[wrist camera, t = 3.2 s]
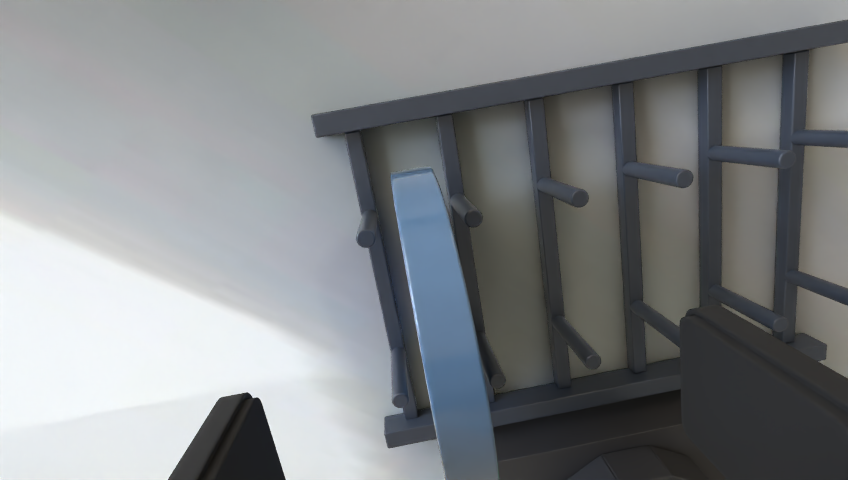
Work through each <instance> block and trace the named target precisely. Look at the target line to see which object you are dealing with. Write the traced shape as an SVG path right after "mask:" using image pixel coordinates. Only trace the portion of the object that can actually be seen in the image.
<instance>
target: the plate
mask: <svg viewBox="0 0 848 480" xmlns="http://www.w3.org/2000/svg"><path fill="white" fill-rule="evenodd" d="M390 179H391V187H392V193H393V200H394V206H395V212H396V218H397V223H398V229H399V235H400V241H401V247H402V252H403V258H404V264H405V269H406V275H407V280H408V286H409V292H410V297H411V303H412V308H413V314H414V319H415V325H416V330H417V335H418V341H419V346H420V352H421V357H422V362H423V368H424V373H425V378H426V384H427V389H428V394H429V399H430V405H431V410H432V415H433V420H434V425H435V431H436V436H437V441H438V446H439V451H440V456H441V461H442V466H443V471H444V476H445V480H500V477H499V466H498V458H497V449H496V442H495V435H494V428H493V422H492V416H491V410H490V404H489V398H488V392H487V387H486V381H485V376H484V370H483V365H482V360H481V354H480V349H479V344H478V339H477V334H476V329H475V325H474V320H473V315H472V310H471V306H470V301H469V297H468V292H467V288H466V283H465V279H464V274H463V270H462V266H461V262H460V258H459V253H458V249H457V245H456V242H455V238H454V234H453V230H452V226H451V222H450V219H449V215H448V212H447V208H446V205H445V202H444V198H443V195H442V192H441V189H440V186H439V183H438V181H437V178H436V176H435V174H434V172H433V170H432V169H431V167H429V166H423V167H418V168H412V169H407V170H401V171H396V172H392V173H391V174H390Z"/></svg>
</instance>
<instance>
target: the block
mask: <svg viewBox="0 0 848 480" xmlns="http://www.w3.org/2000/svg"><path fill="white" fill-rule="evenodd" d="M493 428H494V435H495V442H496V449H497V458H498V466H499V477H500V480H727V479H726V478H725V477H724V476H723V475H722V474H721V473H720V471H719V470H718V469H717V468H716V467H715V466H714V465H713V464H712V463H711V462H710V461H709V460H708V458H707V457H706V456H705V455H704V454H703V453H702V452H701V451H700V450H699V449H698V448H697V447H696V445H695V444H694V443H693V442H692V441H691V440H690V439H689V438H688V436H687V434H686V433H685V431H684V428H683V425H682V417H681V389H679V390H674V391H669V392H664V393H659V394H654V395H649V396H644V397H639V398H634V399H629V400H625V401H620V402H615V403H610V404H605V405H600V406H595V407H590V408H585V409H580V410H575V411H570V412H565V413H561V414H556V415H551V416H546V417H541V418H536V419H531V420H526V421H521V422H516V423H511V424H506V425H501V426H497V427H493Z"/></svg>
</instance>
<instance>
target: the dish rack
mask: <svg viewBox="0 0 848 480" xmlns="http://www.w3.org/2000/svg"><path fill="white" fill-rule="evenodd" d="M847 42H848V20H843V21H837V22H832V23H826V24H820V25H815V26H809V27H804V28H798V29H792V30H787V31H781V32H775V33H770V34H764V35H759V36H753V37H747V38H742V39H736V40H730V41H725V42H719V43H714V44H708V45H702V46H697V47H691V48H685V49H680V50H674V51H669V52H663V53H657V54H652V55H646V56H640V57H635V58H629V59H624V60H618V61H612V62H607V63H601V64H595V65H590V66H584V67H579V68H573V69H567V70H562V71H556V72H550V73H545V74H539V75H534V76H528V77H522V78H517V79H511V80H505V81H500V82H494V83H489V84H483V85H477V86H472V87H466V88H460V89H455V90H449V91H444V92H438V93H432V94H427V95H421V96H415V97H410V98H404V99H399V100H393V101H387V102H382V103H376V104H370V105H365V106H359V107H354V108H348V109H342V110H337V111H331V112H325V113H320V114H314V115H311V118H312V122H313V127H314V131H315V135H316V137H317V138H319V137H324V136H330V135H335V134H341V133H345V134H344V136H345V140H346V145H347V150H348V154H349V159H350V164H351V168H352V173H353V178H354V182H355V187H356V192H357V196H358V201H359V206H360V210H361V215H362V218H361V222H360V226H359V229H358V233H357V237H356V240H357V243H358V244H359V245H360V246H361V247H364V248H369V252H370V257H371V262H372V266H373V271H374V276H375V280H376V285H377V290H378V294H379V299H380V304H381V308H382V313H383V318H384V322H385V327H386V332H387V336H388V341H389V346H390V350H391V371H392V403H393V404H394V406H396V407H398V408H403V411H404V413H402V414H397V415H392V416H387V417H385V438H386V443H387V447H388V448H393V447H398V446H403V445H408V444H413V443H418V442H423V441H428V440H433V439H437V436H436V431H435V425H434V420H433V415H432V410H431V408H427V409H422V410H418V408H417V404H416V399H415V394H414V389H413V384H412V379H411V374H410V369H409V364H408V360H407V355H406V350H405V345H404V340H403V335H402V330H401V325H400V320H399V316H398V311H397V306H396V301H395V296H394V291H393V286H392V281H391V276H390V271H389V267H388V262H387V257H386V252H385V247H384V242H383V237H382V232H381V227H380V223H379V218H378V213H377V208H376V203H375V198H374V193H373V188H372V183H371V178H370V174H369V169H368V164H367V159H366V154H365V149H364V144H363V139H362V134H361V131H360V130H363V129H369V128H374V127H380V126H386V125H391V124H397V123H402V122H408V121H413V120H419V119H425V118H430V117H435V119H436V126H437V132H438V138H439V144H440V151H441V157H442V163H443V169H444V175H445V182H446V188H447V194H448V200H449V207H450V213H451V219H452V225H453V232H454V238H455V242H456V245H457V249H458V253H459V258H460V262H461V266H462V270H463V274H464V279H465V283H466V288H467V292H468V297H469V301H470V306H471V310H472V315H473V320H474V325H475V329H476V334H477V339H478V344H479V349H480V354H481V360H482V365H483V370H484V376H485V381H486V387H487V392H488V398H489V404H490V410H491V416H492V422H493V427H497V426H501V425H506V424H511V423H516V422H521V421H526V420H531V419H536V418H541V417H546V416H551V415H556V414H561V413H565V412H570V411H575V410H580V409H585V408H590V407H595V406H600V405H605V404H610V403H615V402H620V401H625V400H629V399H634V398H639V397H644V396H649V395H654V394H659V393H664V392H669V391H674V390H679V389H681V370H680V358H676V359H671V360H666V361H661V362H656V363H651V364H646V348H645V326H644V321H645V322H647V323H648V324H649V325H651V326H652V327H653V328H655V329H656V330H657V331H658V332H660V333H661V334H662V335H664V336H665V337H666V338H668V339H669V340H670V341H671V342H673V343H674V344H675V345H677V346H678V347H679V348H680V327H678V326H677V325H675V324H674V323H673V322H671V321H670V320H668V319H667V318H665V317H664V316H663V315H661V314H660V313H658V312H657V311H655V310H654V309H653V308H651V307H650V306H648V305H647V304H645V303H644V302H643V284H642V262H641V241H640V220H639V199H638V179H643V180H647V181H652V182H656V183H661V184H665V185H670V186H674V187H679V188H686V187H688V186H689V185H691V183H692V181H693V174H692V173H691V172H690V171H689V170H685V169H678V168H672V167H666V166H659V165H653V164H647V163H640V162H637V156H636V135H635V113H634V92H633V82H632V81H636V80H642V79H647V78H653V77H658V76H664V75H670V74H675V73H681V72H686V71H692V70H697V69H699V70H698V143H699V235H700V307H705V306H710V305H719V306H721V302H722V303H723V304H725V305H727V306H729V307H731V308H733V309H735V310H736V311H738V312H740V313H742V314H744V315H746V316H748V317H749V318H751V319H753V320H755V321H757V322H759V323H761V324H762V325H764V326H766V327H768V328H770V329H772V330H773V336H774V337H776V338H778V339H779V340H781V341H783V342H785V343H786V344H788V345H790V346H792V347H793V348H795V349H797V350H799V351H800V352H802V353H804V354H805V355H807V356H809V357H811V358H812V359H814V360H816V361H822V360H825V359H826V350H827V345H826V344H825V343H823V342H821V341H819V340H817V339H815V338H813V337H811V336H809V335H807V334H805V333H800V334H795V325H796V305H797V286H800V287H802V288H805V289H807V290H810V291H812V292H815V293H817V294H820V295H822V296H825V297H827V298H830V299H832V300H835V301H837V302H840V303H842V304H845V305H847V306H848V288H845V287H842V286H839V285H836V284H834V283H831V282H828V281H825V280H823V279H820V278H817V277H814V276H811V275H809V274H806V273H803V272H800V271H798V265H799V245H800V226H801V206H802V186H803V166H804V146H823V147H841V148H848V131H840V130H805V127H806V107H807V87H808V67H809V49H814V48H820V47H826V46H831V45H837V44H842V43H847ZM781 54H784V55H783V74H782V102H781V129H780V150H776V149H762V148H747V147H733V146H722V66H721V65H725V64H731V63H736V62H742V61H748V60H753V59H759V58H764V57H770V56H775V55H781ZM608 85H612V101H613V118H614V135H615V152H616V170H617V186H618V203H619V220H620V237H621V254H622V270H623V287H624V304H625V321H626V338H627V355H628V367H629V368H626V369H621V370H616V371H611V372H606V373H601V374H596V375H591V376H586V377H581V378H576V379H571V377H570V366H569V356H568V346H567V344H568V345H569V346H570V348H571V349H572V350H573V351H574V352H575V354H576V355H577V356H578V357H579V359H580V360H581V361H582V362H583V364H584V365H585V366H586V367H587V368H588V369H596V368H598V367H599V366H600V364H601V358H600V356H599V355H598V354H597V353H596V352H595V351H594V350H593V349H592V348H591V347H590V345H589V344H588V343H587V342H586V341H585V340H584V339H583V338H582V337H581V336H580V334H579V333H578V332H577V331H576V330H575V329H574V328H573V327H572V326H571V325H570V323H569V322H568V321H567V320H566V319H565V315H564V305H563V295H562V285H561V274H560V264H559V254H558V244H557V234H556V223H555V213H554V203H553V197H554V198H556V199H559V200H561V201H563V202H565V203H568V204H570V205H572V206H574V207H577V208H580V207H583V206H585V205H586V204H587V202H588V199H589V196H588V193H587V192H586V191H585V190H583V189H580V188H577V187H574V186H571V185H568V184H565V183H562V182H559V181H556V180H553V179H551V172H550V162H549V152H548V142H547V132H546V121H545V111H544V101H543V98H542V97H547V96H553V95H558V94H564V93H569V92H575V91H580V90H586V89H592V88H597V87H603V86H608ZM519 101H524V107H525V116H526V125H527V134H528V143H529V152H530V162H531V171H532V180H533V189H534V198H535V207H536V217H537V226H538V235H539V244H540V253H541V262H542V272H543V281H544V290H545V299H546V308H547V318H548V327H549V336H550V345H551V354H552V363H553V373H554V382H555V383H551V384H546V385H541V386H536V387H531V388H526V389H521V390H516V391H511V392H506V393H501V394H496V395H494V388H501V387H503V386H504V384H505V381H506V379H505V376H504V374H503V372H502V370H501V367H500V365H499V363H498V361H497V359H496V357H495V354H494V352H493V350H492V348H491V346H490V344H489V342H488V339H487V337H486V335H485V329H484V322H483V315H482V309H481V302H480V295H479V289H478V282H477V276H476V269H475V262H474V256H473V249H472V242H471V236H470V229H469V227H477V226H479V225H480V224H481V222H482V220H483V216H482V213H481V212H480V211H479V210H478V209H477V208H476V207H475V206H474V205H473V204H472V203H471V202H470V201H468V200H467V199H466V198H465V196H464V189H463V183H462V176H461V169H460V163H459V156H458V149H457V143H456V136H455V129H454V123H453V116H452V113H458V112H464V111H469V110H475V109H480V108H486V107H491V106H497V105H503V104H508V103H514V102H519ZM722 162H730V163H738V164H747V165H755V166H764V167H772V168H779V185H778V212H777V240H776V267H775V295H774V312H773V311H771V310H769V309H767V308H765V307H763V306H761V305H758V304H756V303H754V302H752V301H750V300H748V299H746V298H744V297H742V296H740V295H738V294H736V293H734V292H732V291H730V290H728V289H726V288H724V287H722V286H721V260H722Z"/></svg>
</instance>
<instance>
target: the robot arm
mask: <svg viewBox="0 0 848 480" xmlns="http://www.w3.org/2000/svg"><path fill="white" fill-rule="evenodd" d="M680 370H681V417H682V425H683V428H684V431H685V433H686V434H687V436H688V438H689V439H690V440H691V441H692V442H693V443H694V444H695V445H696V447H697V448H698V449H699V450H700V451H701V452H702V453H703V454H704V455H705V456H706V457H707V458H708V460H709V461H710V462H711V463H712V464H713V465H714V466H715V467H716V468H717V469H718V470H719V471H720V473H721V474H722V475H723V476H724V477H725V478H726V479H727V480H848V379H847V378H846V377H844V376H842V375H840V374H839V373H837V372H835V371H833V370H832V369H830V368H828V367H826V366H825V365H823V364H821V363H819V362H818V361H816V360H814V359H812V358H811V357H809V356H807V355H805V354H804V353H802V352H800V351H799V350H797V349H795V348H793V347H792V346H790V345H788V344H786V343H785V342H783V341H781V340H779V339H778V338H776V337H774V336H772V335H771V334H769V333H767V332H765V331H764V330H762V329H760V328H758V327H757V326H755V325H753V324H751V323H750V322H748V321H746V320H744V319H743V318H741V317H739V316H737V315H736V314H734V313H732V312H730V311H729V310H727V309H725V308H724V307H722V306H719V305H710V306H705V307H700V308H694V309H690V310H688V311H687V313H686V316H685V317H683V318H682V319H681V320H680ZM168 480H286V479H285V476H284V473H283V470H282V467H281V463H280V460H279V457H278V454H277V451H276V447H275V444H274V441H273V438H272V435H271V431H270V428H269V425H268V422H267V419H266V415H265V412H264V409H263V406H262V403H261V401H260V399H259V398H252V396H251V395H250V394H249V393H242V394H236V395H231V396H226V397H221V398H220V399H219V400H218V401H217V402H216V404H215V406H214V407H213V409H212V410H211V412H210V414H209V415H208V417H207V418H206V420H205V422H204V423H203V425H202V426H201V428H200V430H199V431H198V433H197V434H196V436H195V437H194V439H193V441H192V442H191V444H190V445H189V447H188V449H187V450H186V452H185V453H184V455H183V457H182V458H181V460H180V461H179V463H178V465H177V466H176V468H175V469H174V471H173V472H172V474H171V476H170V477H169V479H168Z"/></svg>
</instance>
